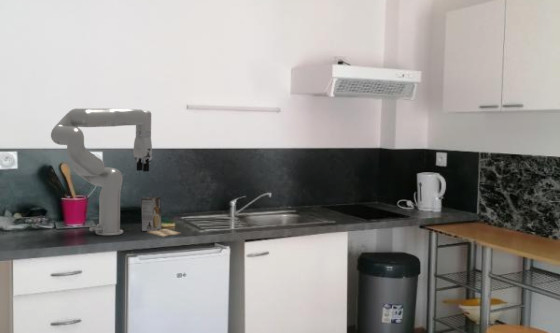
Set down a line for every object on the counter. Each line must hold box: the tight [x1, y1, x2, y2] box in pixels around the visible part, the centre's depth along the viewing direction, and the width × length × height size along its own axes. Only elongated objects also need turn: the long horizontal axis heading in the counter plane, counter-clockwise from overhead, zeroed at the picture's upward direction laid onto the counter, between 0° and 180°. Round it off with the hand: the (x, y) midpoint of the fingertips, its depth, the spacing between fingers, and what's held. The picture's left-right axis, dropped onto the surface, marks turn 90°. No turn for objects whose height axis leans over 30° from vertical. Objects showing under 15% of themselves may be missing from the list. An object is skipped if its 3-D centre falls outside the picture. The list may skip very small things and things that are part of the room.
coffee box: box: [140, 196, 162, 232], centre depth 265 cm, size 9×6×16 cm
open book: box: [146, 228, 182, 238], centre depth 259 cm, size 11×13×1 cm
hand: (142, 170), depth 269 cm, fingers open, 4 cm apart
